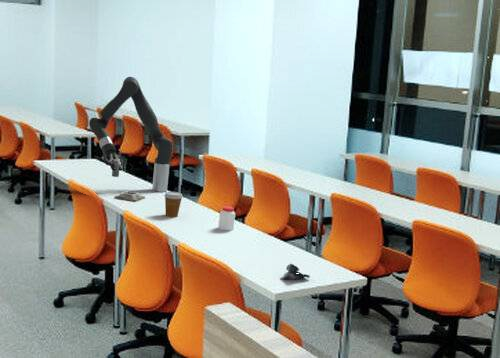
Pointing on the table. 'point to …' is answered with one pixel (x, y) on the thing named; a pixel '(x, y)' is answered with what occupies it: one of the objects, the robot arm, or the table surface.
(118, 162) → the plug
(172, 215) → the disposable coffee cup
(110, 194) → the table surface
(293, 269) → the black spring clamp
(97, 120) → the robot arm
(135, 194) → the socket plate
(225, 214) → the pill bottle
